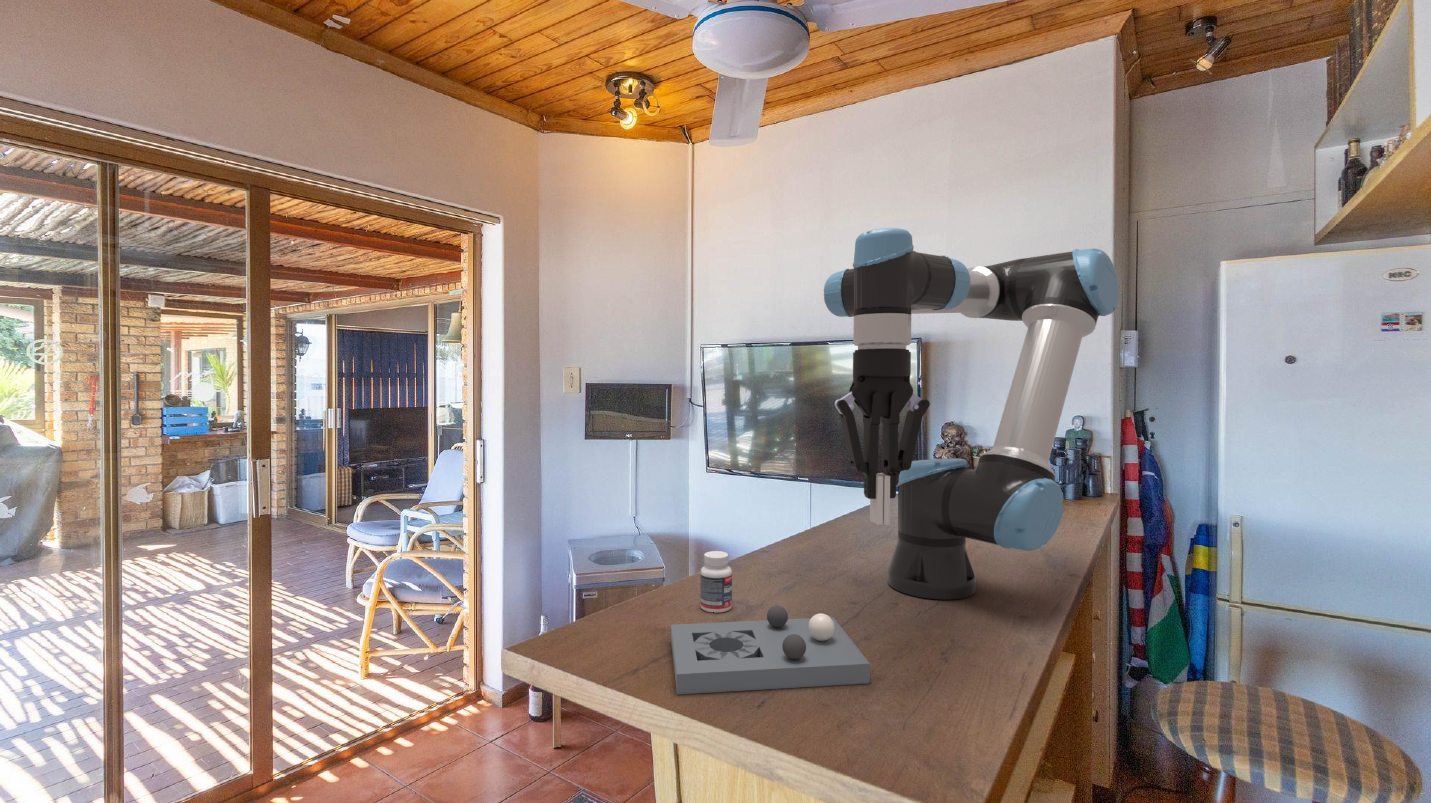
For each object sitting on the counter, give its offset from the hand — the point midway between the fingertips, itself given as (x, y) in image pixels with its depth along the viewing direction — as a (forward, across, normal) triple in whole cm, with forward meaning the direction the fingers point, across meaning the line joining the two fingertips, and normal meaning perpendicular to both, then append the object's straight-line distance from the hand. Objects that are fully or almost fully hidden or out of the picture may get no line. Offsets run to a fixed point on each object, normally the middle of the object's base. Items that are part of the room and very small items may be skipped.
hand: (879, 522), depth 85 cm
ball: (+14, +8, 0) cm, 16 cm away
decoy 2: (+14, +13, +5) cm, 20 cm away
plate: (+18, +16, 0) cm, 24 cm away
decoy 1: (+14, +13, -5) cm, 20 cm away
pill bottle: (+19, +20, -20) cm, 34 cm away
